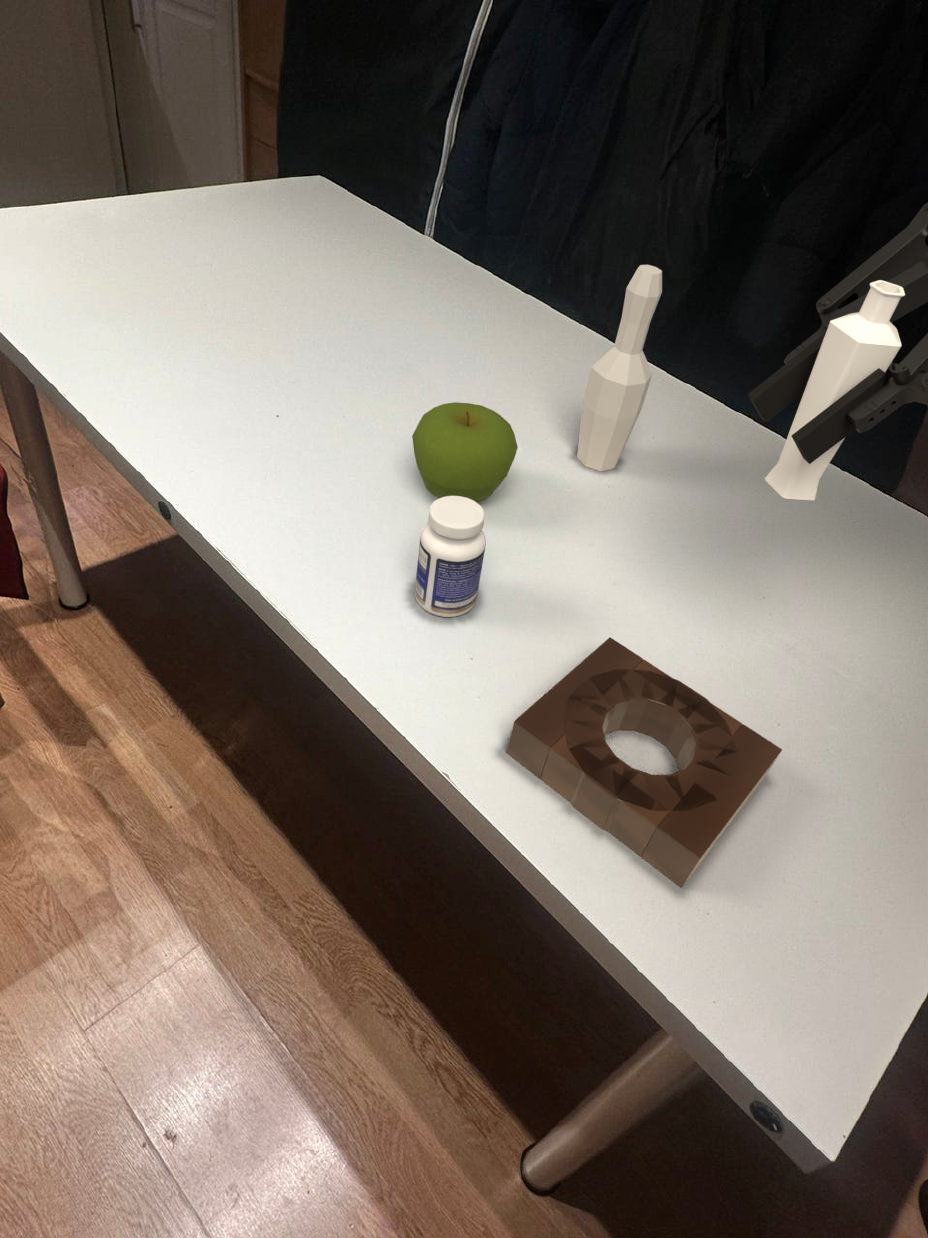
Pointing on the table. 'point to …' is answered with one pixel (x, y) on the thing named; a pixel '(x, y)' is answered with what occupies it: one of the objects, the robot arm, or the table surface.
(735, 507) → the table surface
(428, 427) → the apple
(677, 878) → the hole plate
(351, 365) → the table surface
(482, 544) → the pill bottle
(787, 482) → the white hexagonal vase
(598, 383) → the faceted bottle
